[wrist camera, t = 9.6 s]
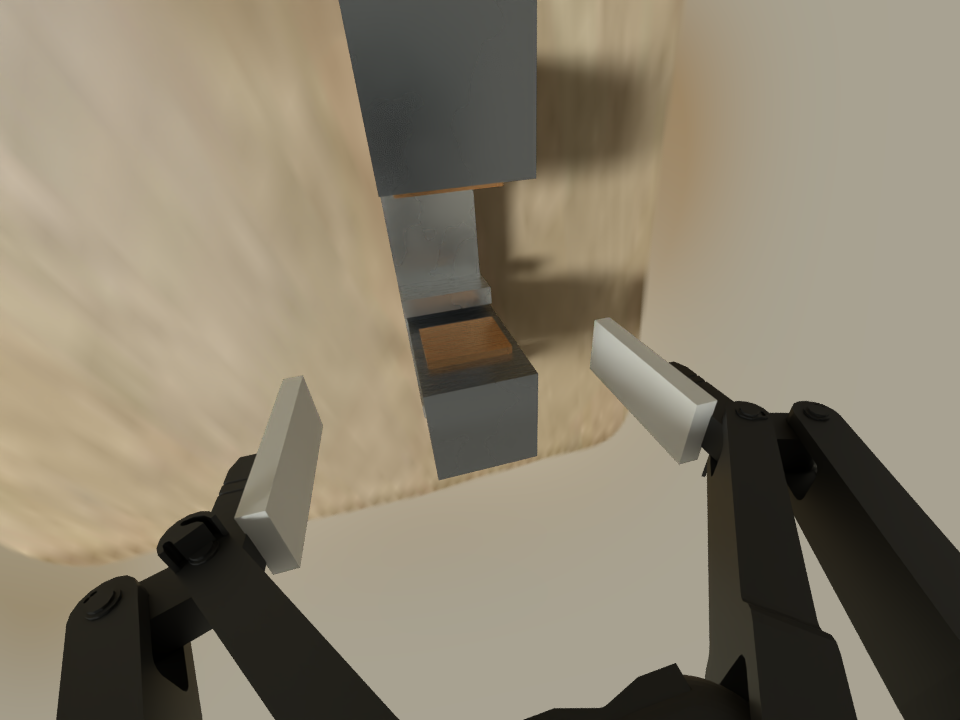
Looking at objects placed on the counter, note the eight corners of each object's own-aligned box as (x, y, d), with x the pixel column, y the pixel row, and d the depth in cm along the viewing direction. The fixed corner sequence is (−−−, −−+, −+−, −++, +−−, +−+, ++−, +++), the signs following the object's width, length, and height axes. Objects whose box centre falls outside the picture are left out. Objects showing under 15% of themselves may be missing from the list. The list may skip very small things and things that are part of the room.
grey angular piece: (349, 40, 15) (321, -81, 7) (447, 36, 16) (536, -79, 7) (416, 372, 23) (441, 504, 15) (478, 360, 24) (535, 479, 16)
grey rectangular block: (403, 303, 18) (421, 390, 12) (482, 290, 19) (538, 366, 13) (418, 375, 21) (438, 480, 14) (488, 361, 21) (537, 456, 15)
